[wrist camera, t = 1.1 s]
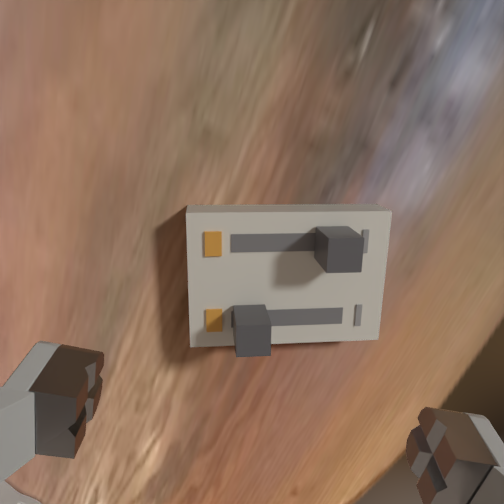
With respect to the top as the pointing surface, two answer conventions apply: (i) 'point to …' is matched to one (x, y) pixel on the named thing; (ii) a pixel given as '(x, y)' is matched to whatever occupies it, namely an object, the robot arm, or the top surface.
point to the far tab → (251, 330)
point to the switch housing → (283, 271)
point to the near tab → (338, 249)
